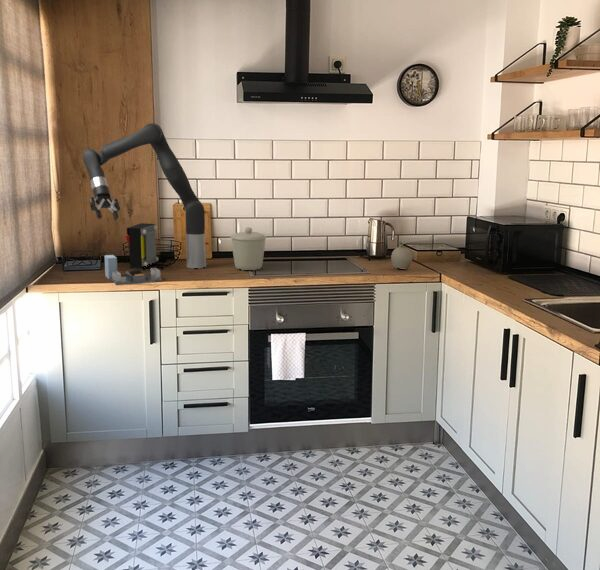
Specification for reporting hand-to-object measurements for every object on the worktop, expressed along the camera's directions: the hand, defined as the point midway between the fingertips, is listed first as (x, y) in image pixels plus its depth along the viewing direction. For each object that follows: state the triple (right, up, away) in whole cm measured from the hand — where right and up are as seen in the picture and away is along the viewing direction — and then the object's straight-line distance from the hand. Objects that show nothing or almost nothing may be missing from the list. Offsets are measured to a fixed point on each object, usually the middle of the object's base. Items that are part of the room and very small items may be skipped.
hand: (108, 218), depth 329 cm
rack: (+15, -29, -7) cm, 33 cm away
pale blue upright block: (+2, -28, -1) cm, 28 cm away
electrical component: (+10, -21, +29) cm, 37 cm away
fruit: (+141, -23, +28) cm, 146 cm away
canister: (+64, -23, +23) cm, 72 cm away
